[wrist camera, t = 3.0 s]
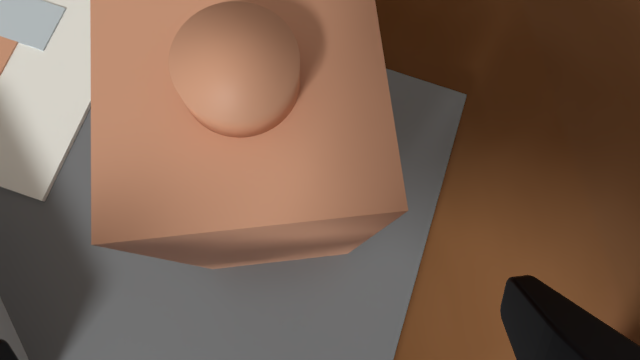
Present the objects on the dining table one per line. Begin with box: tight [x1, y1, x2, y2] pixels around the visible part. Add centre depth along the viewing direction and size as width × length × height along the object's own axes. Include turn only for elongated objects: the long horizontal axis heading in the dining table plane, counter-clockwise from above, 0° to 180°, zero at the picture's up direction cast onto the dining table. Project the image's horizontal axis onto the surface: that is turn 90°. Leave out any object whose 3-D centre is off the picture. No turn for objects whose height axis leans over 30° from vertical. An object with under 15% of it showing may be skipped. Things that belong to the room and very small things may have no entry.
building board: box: [0, 0, 467, 360], centre depth 18 cm, size 26×24×3 cm
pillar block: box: [90, 0, 408, 269], centre depth 12 cm, size 5×5×11 cm
